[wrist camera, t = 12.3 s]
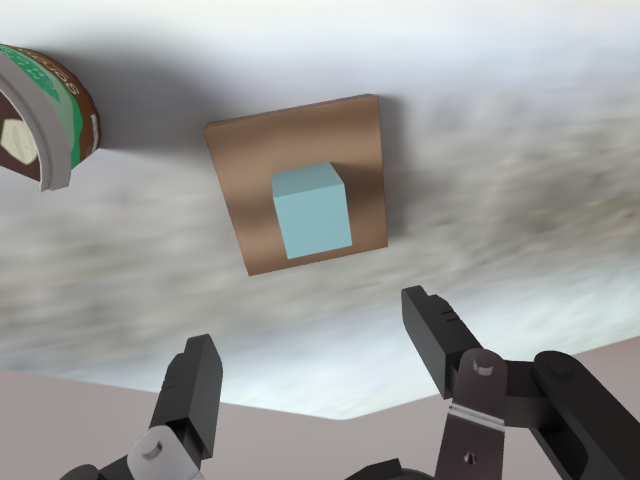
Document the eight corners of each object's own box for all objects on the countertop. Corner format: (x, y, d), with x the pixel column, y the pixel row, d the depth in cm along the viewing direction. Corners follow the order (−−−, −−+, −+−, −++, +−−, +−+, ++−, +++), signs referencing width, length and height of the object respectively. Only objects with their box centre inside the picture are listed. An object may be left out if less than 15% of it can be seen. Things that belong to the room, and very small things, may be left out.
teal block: (271, 173, 28) (273, 197, 23) (329, 162, 28) (343, 183, 23) (284, 226, 30) (288, 259, 25) (337, 214, 31) (352, 245, 25)
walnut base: (208, 123, 28) (202, 128, 26) (367, 93, 29) (377, 96, 26) (250, 260, 35) (249, 276, 32) (378, 233, 36) (387, 246, 33)
